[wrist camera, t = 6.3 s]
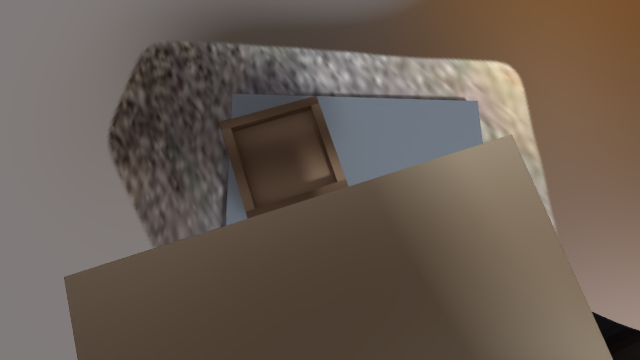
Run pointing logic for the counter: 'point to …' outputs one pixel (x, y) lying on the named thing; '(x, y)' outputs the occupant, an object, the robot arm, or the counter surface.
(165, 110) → the counter surface
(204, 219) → the counter surface
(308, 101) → the walnut block
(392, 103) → the board
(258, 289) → the beech column
